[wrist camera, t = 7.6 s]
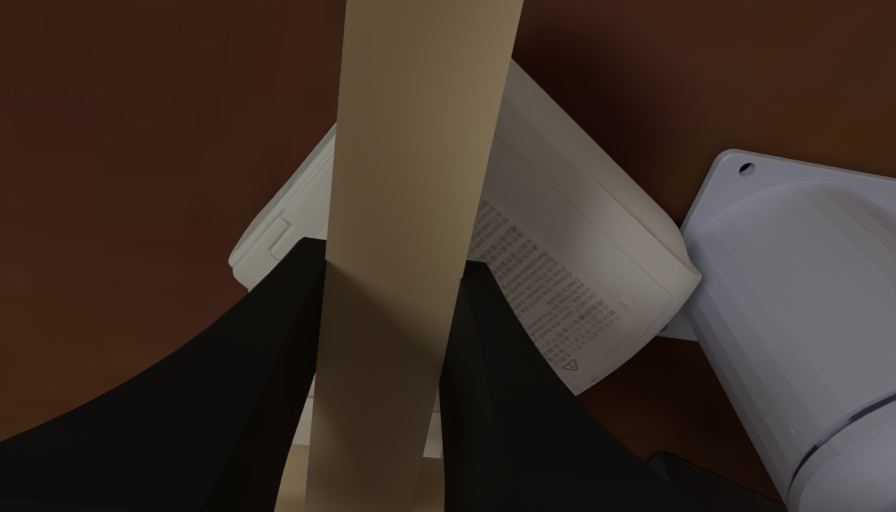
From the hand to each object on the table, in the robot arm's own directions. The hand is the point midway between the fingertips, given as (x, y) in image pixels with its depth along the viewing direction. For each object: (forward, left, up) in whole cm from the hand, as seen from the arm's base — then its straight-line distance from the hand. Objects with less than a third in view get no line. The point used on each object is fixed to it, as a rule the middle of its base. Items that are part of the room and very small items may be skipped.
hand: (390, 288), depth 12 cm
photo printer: (+3, 0, -6) cm, 6 cm away
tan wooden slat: (0, +1, -3) cm, 3 cm away
